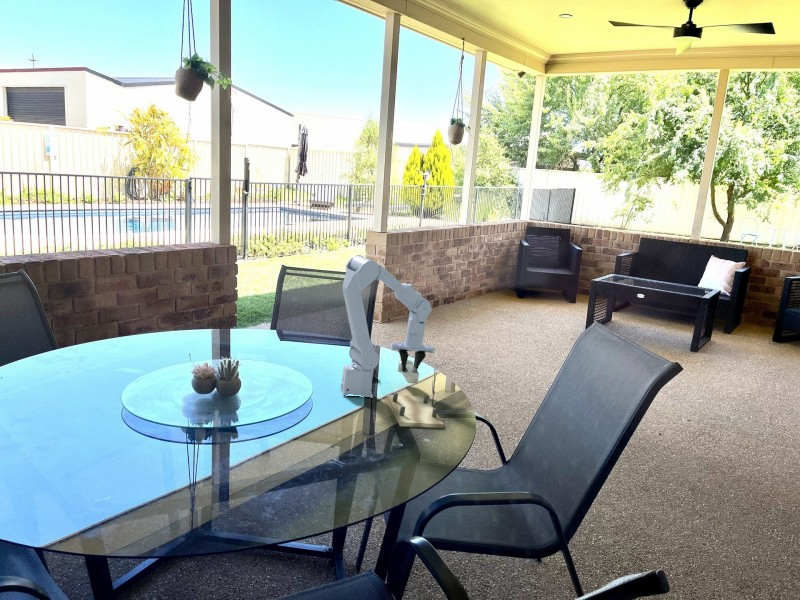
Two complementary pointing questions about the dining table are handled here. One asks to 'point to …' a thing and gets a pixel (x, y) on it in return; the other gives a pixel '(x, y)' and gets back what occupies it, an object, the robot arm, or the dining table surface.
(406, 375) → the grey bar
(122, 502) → the dining table surface
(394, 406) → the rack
